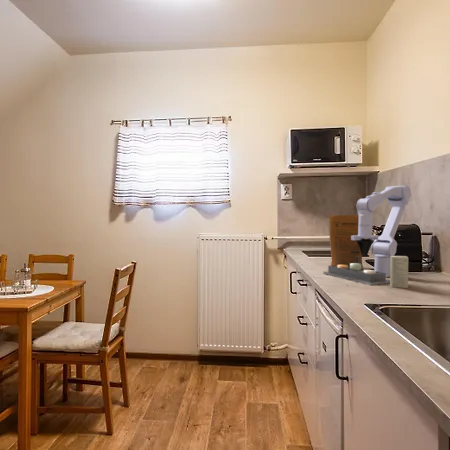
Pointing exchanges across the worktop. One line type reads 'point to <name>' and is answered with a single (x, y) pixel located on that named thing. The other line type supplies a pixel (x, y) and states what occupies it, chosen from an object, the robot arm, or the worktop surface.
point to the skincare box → (399, 271)
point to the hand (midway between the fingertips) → (364, 256)
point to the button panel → (357, 275)
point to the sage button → (355, 266)
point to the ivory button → (369, 271)
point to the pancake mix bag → (344, 240)
